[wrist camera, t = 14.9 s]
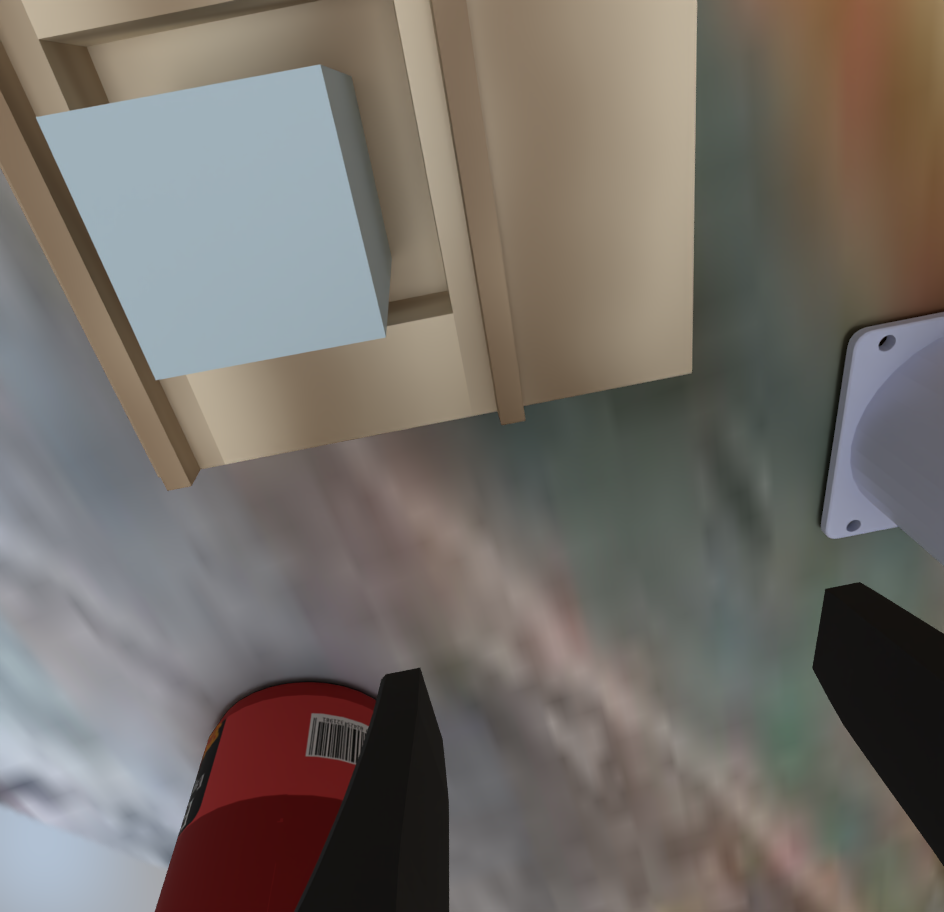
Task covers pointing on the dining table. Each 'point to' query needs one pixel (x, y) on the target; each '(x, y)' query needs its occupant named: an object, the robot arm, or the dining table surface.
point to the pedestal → (405, 202)
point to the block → (233, 217)
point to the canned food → (266, 799)
